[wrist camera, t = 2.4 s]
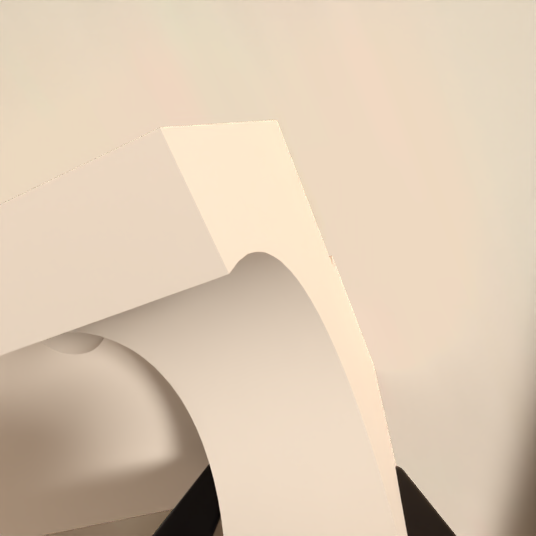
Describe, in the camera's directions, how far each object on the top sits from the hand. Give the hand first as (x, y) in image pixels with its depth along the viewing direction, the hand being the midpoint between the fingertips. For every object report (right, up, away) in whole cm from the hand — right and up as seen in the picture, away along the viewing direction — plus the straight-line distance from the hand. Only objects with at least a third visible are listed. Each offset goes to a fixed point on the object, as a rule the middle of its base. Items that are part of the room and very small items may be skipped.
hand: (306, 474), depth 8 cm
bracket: (-5, +3, +4) cm, 7 cm away
